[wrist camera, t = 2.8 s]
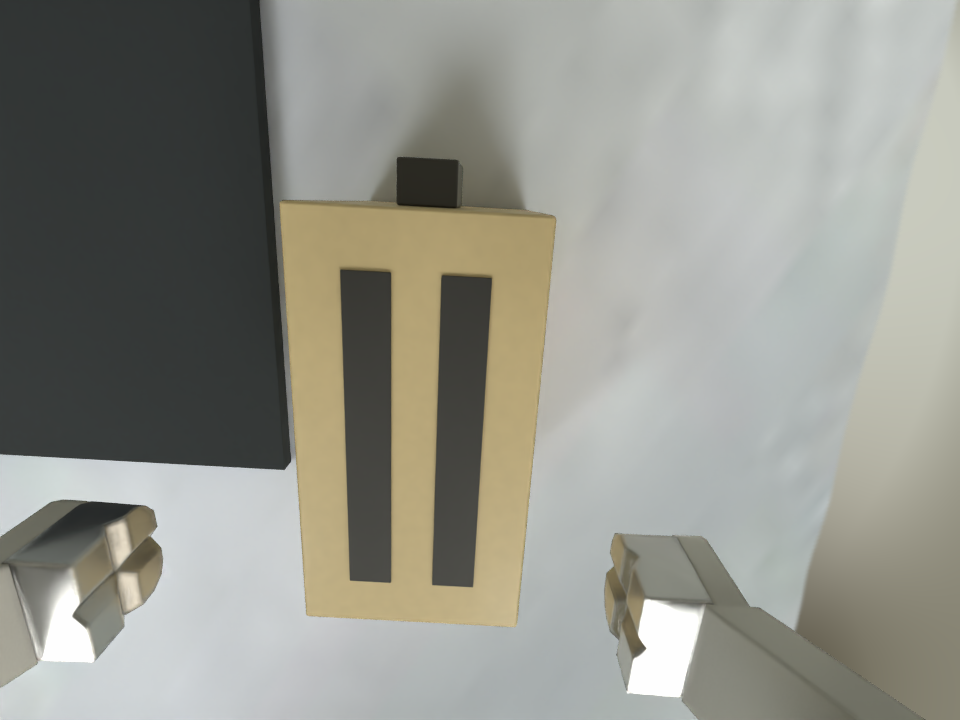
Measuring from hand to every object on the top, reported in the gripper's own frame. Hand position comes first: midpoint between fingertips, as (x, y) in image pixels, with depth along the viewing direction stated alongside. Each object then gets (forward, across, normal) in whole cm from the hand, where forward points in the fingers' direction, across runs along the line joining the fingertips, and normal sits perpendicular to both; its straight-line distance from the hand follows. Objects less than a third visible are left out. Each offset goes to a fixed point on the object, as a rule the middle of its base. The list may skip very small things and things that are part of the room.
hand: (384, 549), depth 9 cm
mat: (+13, -14, +4) cm, 20 cm away
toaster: (+14, 0, 0) cm, 14 cm away
